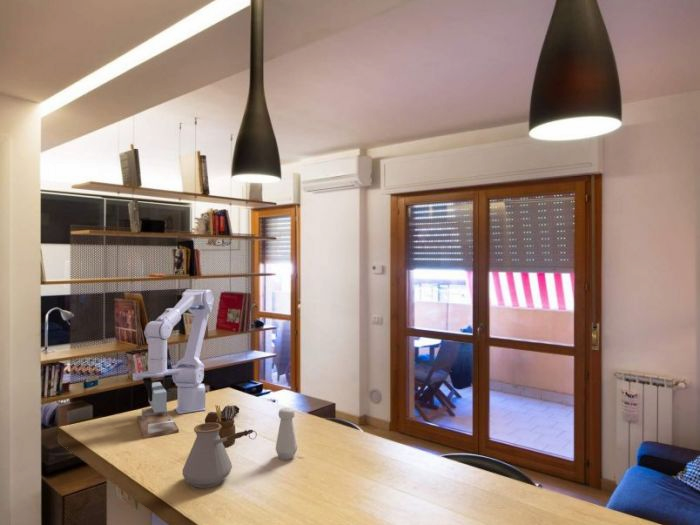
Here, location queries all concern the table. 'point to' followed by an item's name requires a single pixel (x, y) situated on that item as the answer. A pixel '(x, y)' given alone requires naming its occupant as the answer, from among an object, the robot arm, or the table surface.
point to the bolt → (213, 416)
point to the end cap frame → (156, 423)
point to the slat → (158, 398)
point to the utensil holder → (226, 426)
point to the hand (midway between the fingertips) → (157, 399)
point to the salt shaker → (286, 435)
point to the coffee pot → (209, 456)
